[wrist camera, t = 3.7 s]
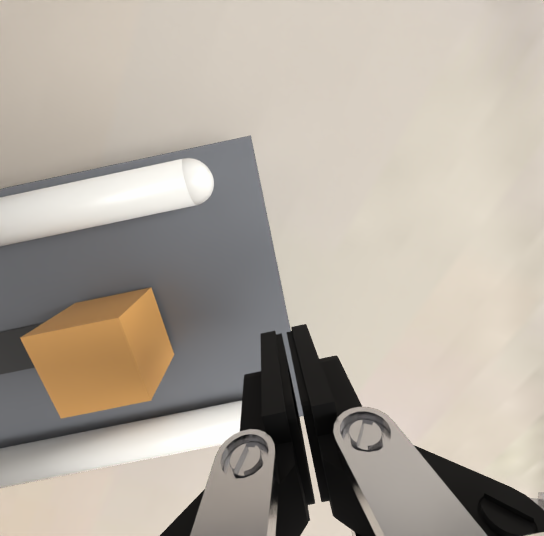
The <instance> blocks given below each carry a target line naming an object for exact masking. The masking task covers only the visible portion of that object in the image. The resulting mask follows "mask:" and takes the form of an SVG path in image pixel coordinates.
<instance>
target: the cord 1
mask: <svg viewBox="0 0 544 536" xmlns="http://www.w3.org/2000/svg"><path fill="white" fill-rule="evenodd" d="M213 188H214V179H213V175H212V173H211V171H210V170H209V168H208V167H207V166H206V165H205V164H204V163H202V162H201V161H199V160H196V159H192V158H185V159H179V160H174V161H170V162H165V163H160V164H156V165H151V166H146V167H142V168H137V169H132V170H127V171H123V172H118V173H113V174H109V175H104V176H99V177H95V178H90V179H85V180H80V181H76V182H71V183H66V184H62V185H57V186H52V187H48V188H43V189H38V190H33V191H29V192H24V193H19V194H15V195H10V196H5V197H1V198H0V246H5V245H10V244H14V243H19V242H24V241H29V240H34V239H38V238H43V237H48V236H53V235H57V234H62V233H67V232H72V231H76V230H81V229H86V228H91V227H95V226H100V225H105V224H110V223H114V222H119V221H124V220H129V219H134V218H138V217H143V216H148V215H153V214H157V213H162V212H167V211H172V210H176V209H181V208H186V207H191V206H195V205H199V204H202V203H203V202H205V201H206V200H207V199H208V198H209V197H210V196H211V194H212V192H213Z"/></svg>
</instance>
